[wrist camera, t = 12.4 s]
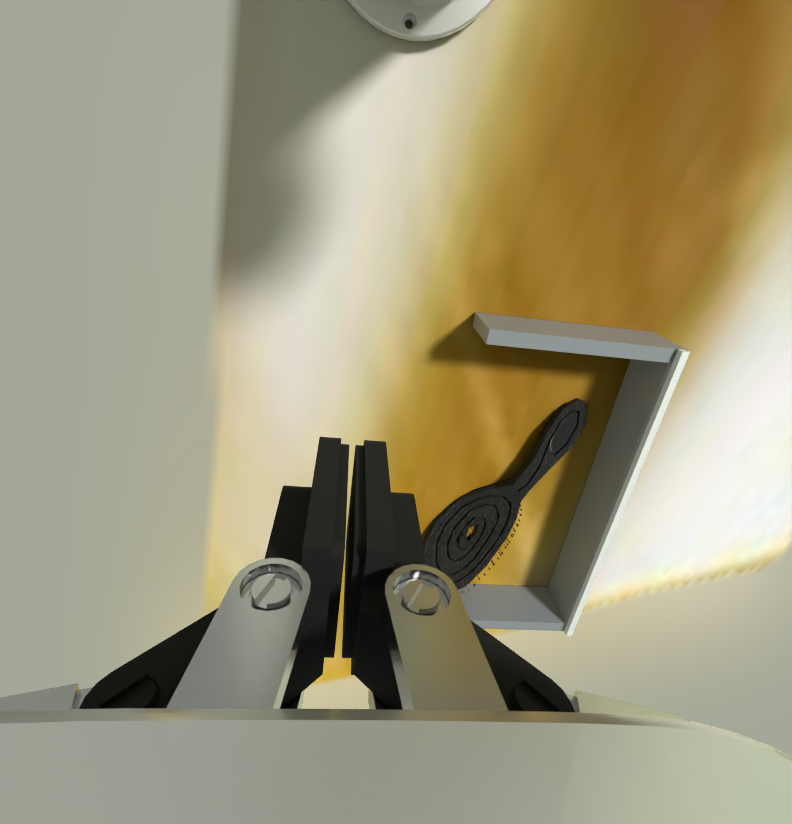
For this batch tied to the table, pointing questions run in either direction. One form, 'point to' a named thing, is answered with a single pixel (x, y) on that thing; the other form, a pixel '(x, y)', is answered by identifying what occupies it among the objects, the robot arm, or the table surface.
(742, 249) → the table surface
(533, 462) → the hairbrush
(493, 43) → the table surface
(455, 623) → the robot arm
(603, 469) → the box
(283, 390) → the table surface
